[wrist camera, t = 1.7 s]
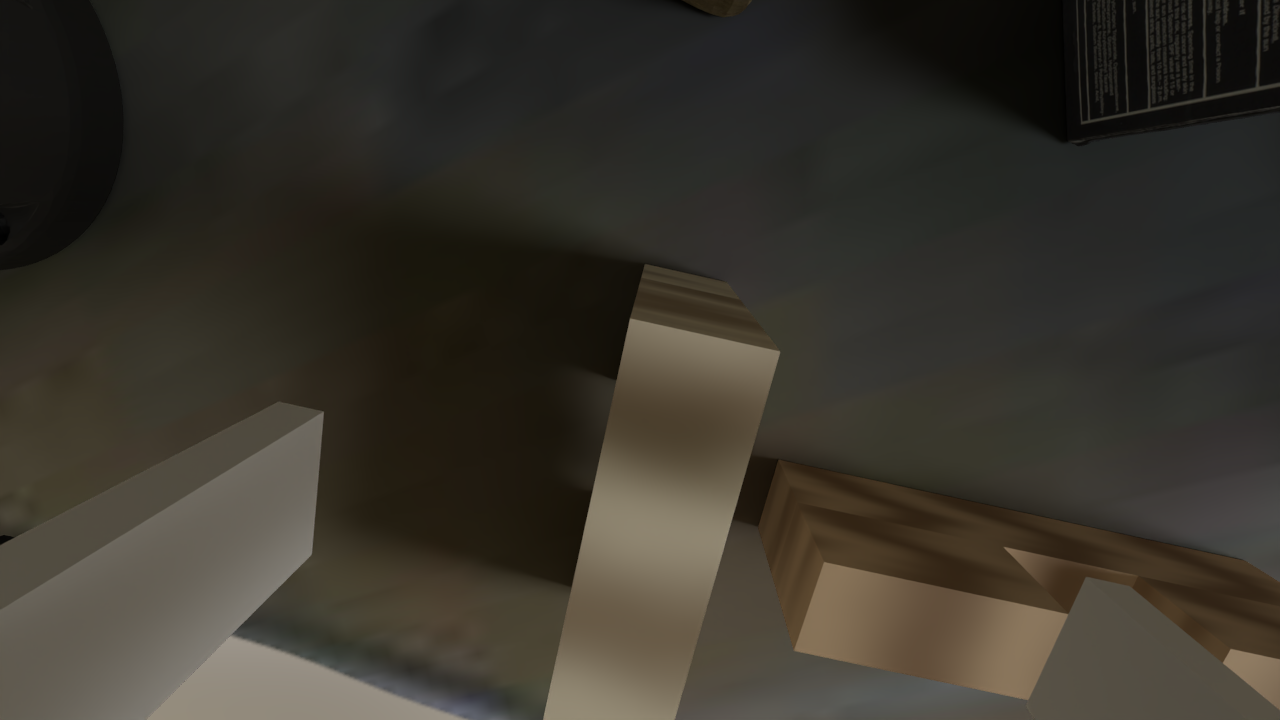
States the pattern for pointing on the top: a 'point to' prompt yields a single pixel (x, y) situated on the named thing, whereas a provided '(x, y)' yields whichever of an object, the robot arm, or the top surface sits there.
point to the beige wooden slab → (661, 498)
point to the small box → (1167, 64)
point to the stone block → (720, 6)
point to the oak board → (984, 583)
